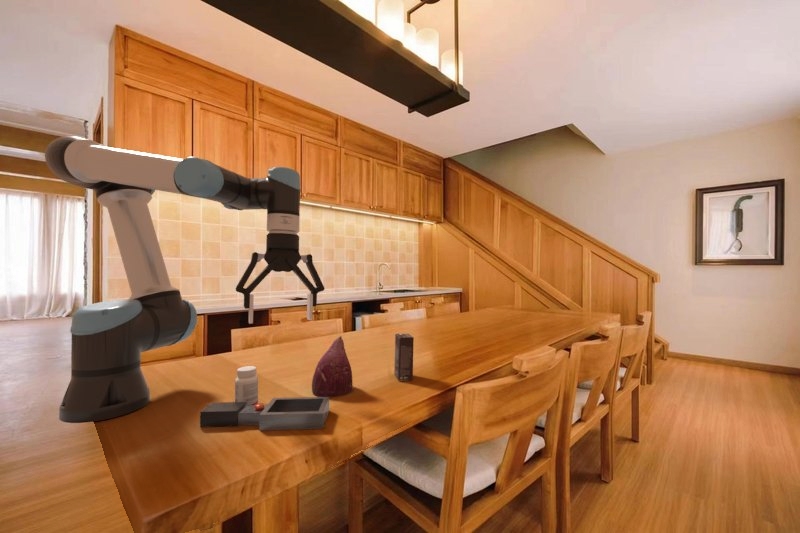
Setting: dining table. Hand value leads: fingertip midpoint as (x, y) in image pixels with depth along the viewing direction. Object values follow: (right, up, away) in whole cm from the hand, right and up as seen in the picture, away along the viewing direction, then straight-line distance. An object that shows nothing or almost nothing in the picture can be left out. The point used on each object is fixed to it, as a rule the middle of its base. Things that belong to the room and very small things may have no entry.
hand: (281, 321), depth 82 cm
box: (+30, -19, +15) cm, 38 cm away
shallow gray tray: (+1, -18, -13) cm, 22 cm away
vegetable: (+11, -19, +5) cm, 22 cm away
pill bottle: (-6, -19, -5) cm, 20 cm away
